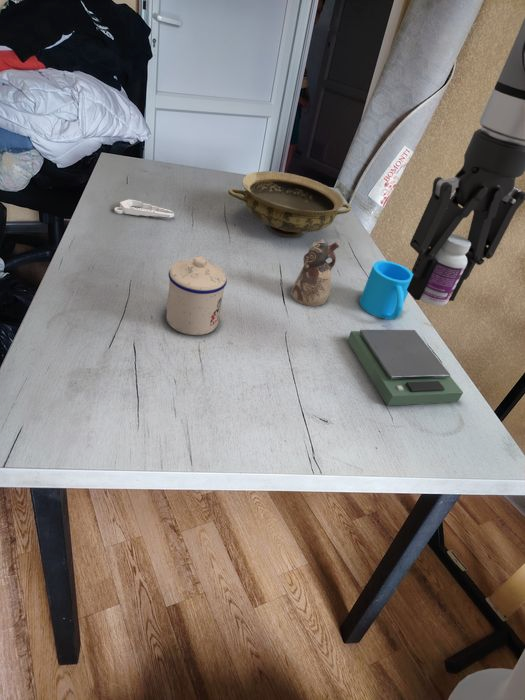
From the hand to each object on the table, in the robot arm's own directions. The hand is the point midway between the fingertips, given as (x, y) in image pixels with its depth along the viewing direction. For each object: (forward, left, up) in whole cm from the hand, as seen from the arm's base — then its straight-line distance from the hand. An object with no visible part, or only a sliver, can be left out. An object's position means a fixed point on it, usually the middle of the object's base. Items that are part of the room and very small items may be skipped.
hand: (430, 295), depth 72 cm
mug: (+16, -5, -14) cm, 22 cm away
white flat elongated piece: (+54, +38, -14) cm, 67 cm away
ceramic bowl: (+51, +5, -14) cm, 53 cm away
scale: (-1, 0, -14) cm, 14 cm away
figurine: (+21, +9, -14) cm, 27 cm away
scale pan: (0, 0, -12) cm, 12 cm away
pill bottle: (0, 0, 0) cm, 1 cm away
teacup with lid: (+14, +33, -14) cm, 38 cm away
